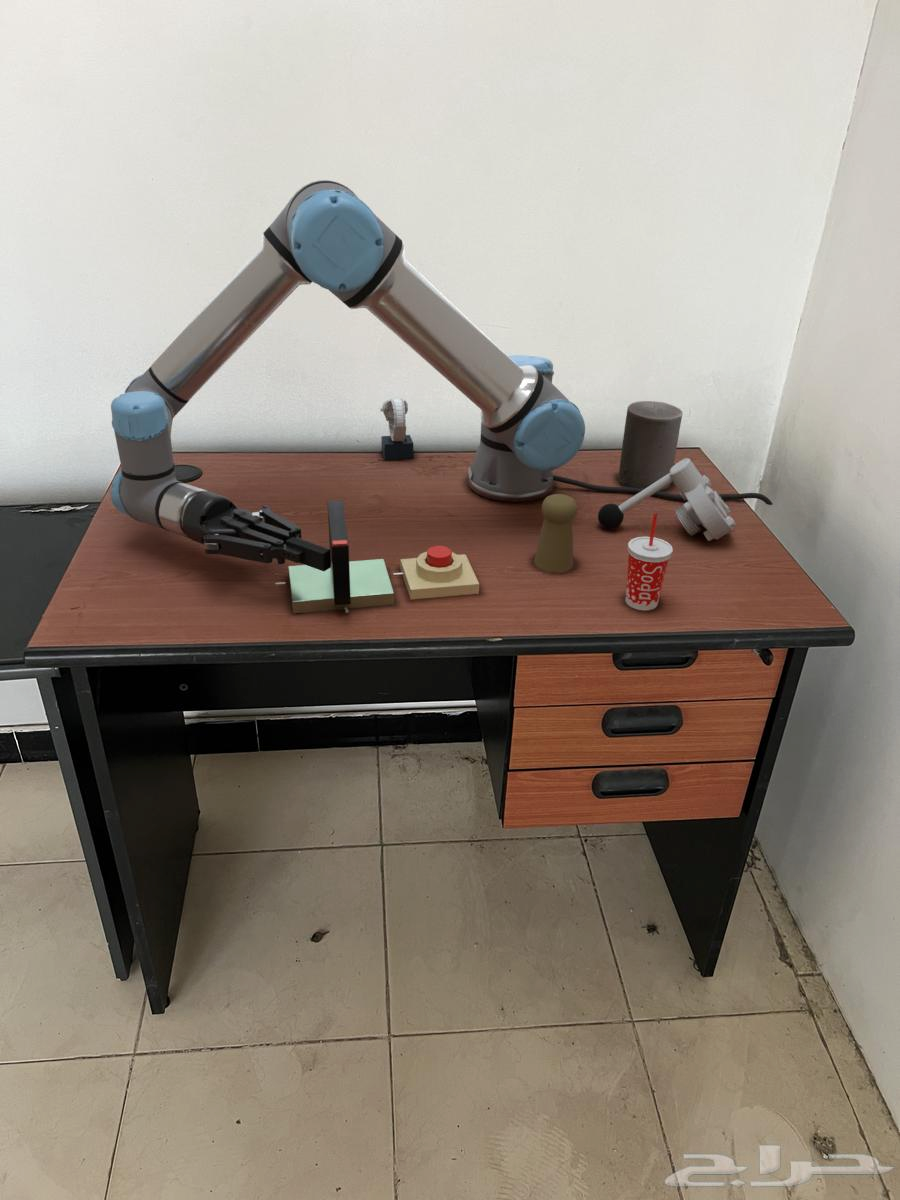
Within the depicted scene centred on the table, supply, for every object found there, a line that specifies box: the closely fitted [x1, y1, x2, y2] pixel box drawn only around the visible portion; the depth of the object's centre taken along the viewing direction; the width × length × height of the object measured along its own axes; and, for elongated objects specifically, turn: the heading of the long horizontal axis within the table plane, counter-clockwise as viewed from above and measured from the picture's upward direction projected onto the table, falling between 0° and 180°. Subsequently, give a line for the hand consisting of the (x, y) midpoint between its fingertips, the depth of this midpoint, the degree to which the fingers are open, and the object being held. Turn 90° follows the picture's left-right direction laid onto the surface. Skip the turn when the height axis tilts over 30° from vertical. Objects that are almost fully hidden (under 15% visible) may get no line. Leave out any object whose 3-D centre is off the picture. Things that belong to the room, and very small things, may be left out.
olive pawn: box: [533, 493, 578, 574], centre depth 134 cm, size 6×6×11 cm
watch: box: [379, 396, 414, 461], centre depth 169 cm, size 6×8×11 cm
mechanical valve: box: [597, 457, 737, 542], centre depth 146 cm, size 10×18×15 cm
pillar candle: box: [617, 400, 684, 492], centre depth 161 cm, size 10×10×15 cm
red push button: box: [426, 545, 453, 568], centre depth 129 cm, size 4×4×2 cm
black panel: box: [326, 499, 351, 605], centre depth 125 cm, size 14×2×9 cm, turn 9°
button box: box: [399, 551, 480, 600], centre depth 131 cm, size 10×9×4 cm
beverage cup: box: [624, 512, 674, 611], centre depth 124 cm, size 6×6×14 cm
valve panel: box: [274, 558, 403, 615], centre depth 128 cm, size 18×18×2 cm
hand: (326, 560), depth 120 cm, fingers closed
